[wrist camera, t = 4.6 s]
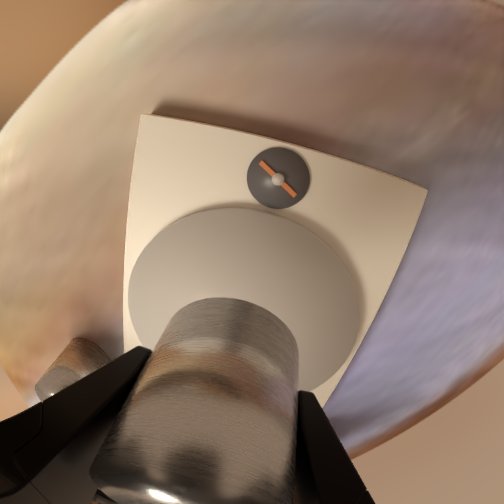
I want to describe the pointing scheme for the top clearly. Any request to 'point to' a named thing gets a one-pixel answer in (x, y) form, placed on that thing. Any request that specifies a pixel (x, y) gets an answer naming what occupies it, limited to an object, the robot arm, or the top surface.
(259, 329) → the cylinder
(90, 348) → the cylinder
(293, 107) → the top surface
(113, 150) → the top surface
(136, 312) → the scale
